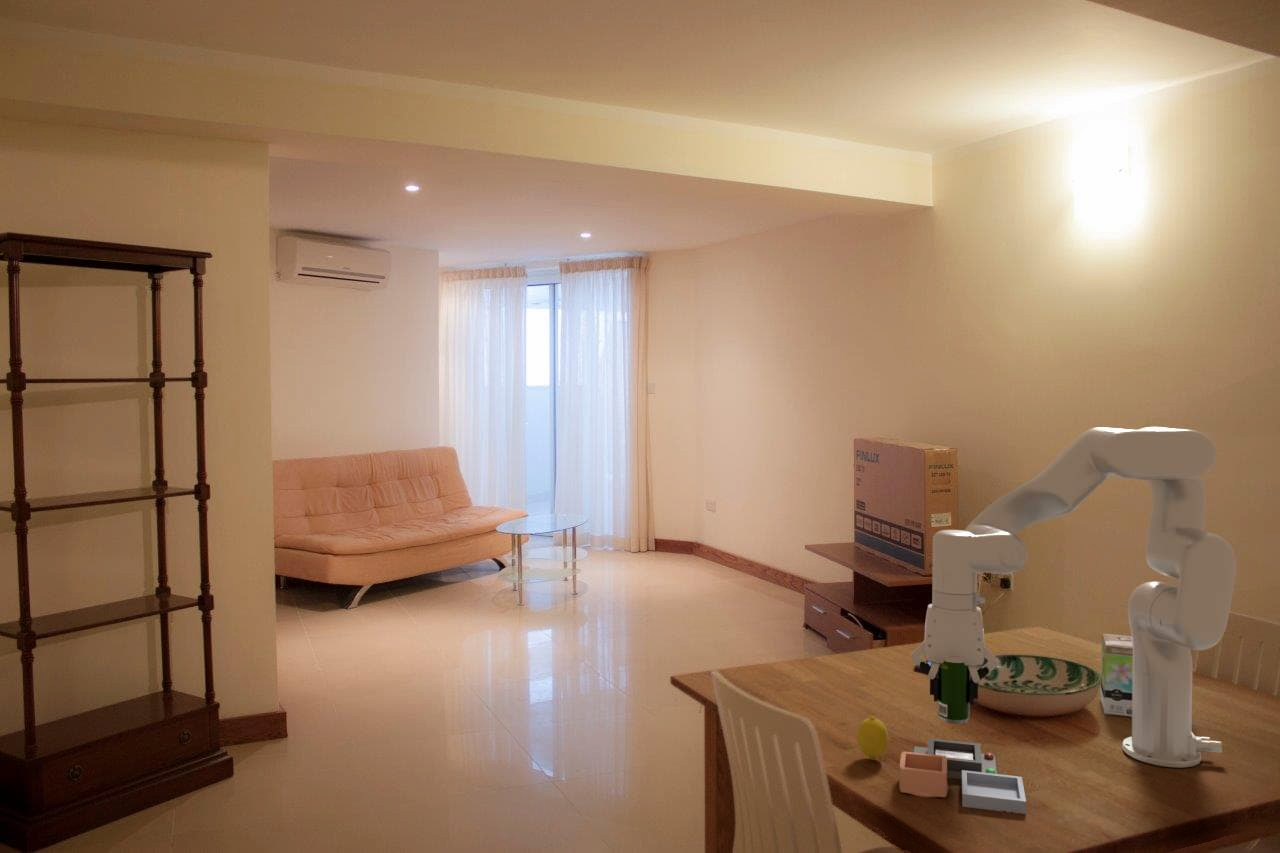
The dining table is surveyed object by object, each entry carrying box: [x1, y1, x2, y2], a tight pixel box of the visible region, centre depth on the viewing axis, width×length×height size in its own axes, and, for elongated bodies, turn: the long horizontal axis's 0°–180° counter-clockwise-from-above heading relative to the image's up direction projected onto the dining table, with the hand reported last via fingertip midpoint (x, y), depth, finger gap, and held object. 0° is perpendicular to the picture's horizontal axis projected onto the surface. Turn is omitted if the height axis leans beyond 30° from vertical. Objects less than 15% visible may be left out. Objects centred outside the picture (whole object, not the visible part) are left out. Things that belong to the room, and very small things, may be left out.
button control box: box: [913, 738, 998, 780], centre depth 167 cm, size 14×10×3 cm
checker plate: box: [935, 748, 973, 760], centre depth 167 cm, size 6×6×1 cm
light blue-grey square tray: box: [961, 770, 1027, 815], centre depth 155 cm, size 10×10×2 cm
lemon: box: [856, 716, 889, 761], centre depth 170 cm, size 6×6×8 cm
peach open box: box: [898, 750, 949, 798], centre depth 159 cm, size 8×8×4 cm
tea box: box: [1099, 633, 1133, 718], centre depth 192 cm, size 15×10×15 cm
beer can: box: [937, 656, 971, 725], centre depth 166 cm, size 5×5×12 cm
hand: (953, 699), depth 166 cm, fingers closed on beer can, 5 cm apart
